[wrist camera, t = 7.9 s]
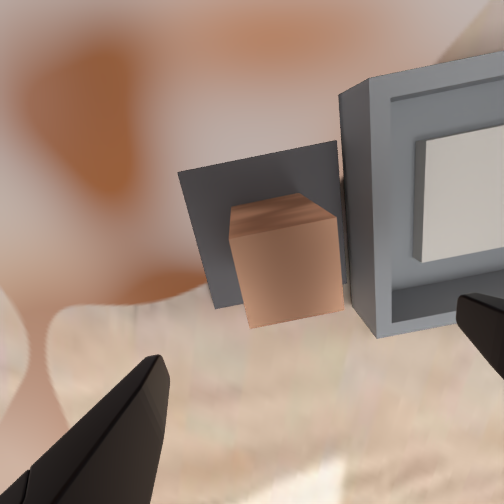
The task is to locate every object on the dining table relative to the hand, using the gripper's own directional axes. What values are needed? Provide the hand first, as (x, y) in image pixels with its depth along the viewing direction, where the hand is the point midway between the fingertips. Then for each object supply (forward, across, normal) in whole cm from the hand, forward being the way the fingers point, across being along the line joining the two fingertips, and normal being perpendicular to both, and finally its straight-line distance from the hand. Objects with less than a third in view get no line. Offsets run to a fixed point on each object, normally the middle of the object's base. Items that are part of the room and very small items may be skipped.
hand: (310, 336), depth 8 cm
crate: (+12, -14, 0) cm, 18 cm away
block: (+11, 0, 0) cm, 11 cm away
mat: (+12, 0, 0) cm, 12 cm away
